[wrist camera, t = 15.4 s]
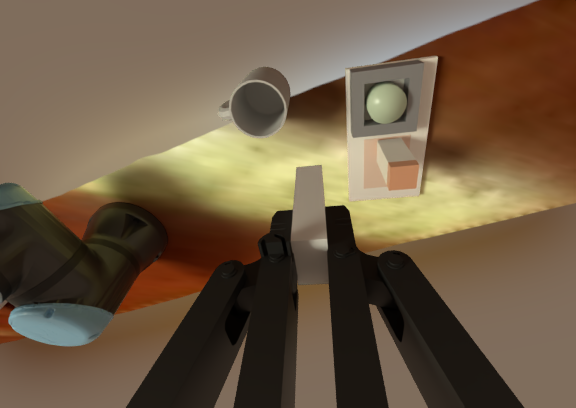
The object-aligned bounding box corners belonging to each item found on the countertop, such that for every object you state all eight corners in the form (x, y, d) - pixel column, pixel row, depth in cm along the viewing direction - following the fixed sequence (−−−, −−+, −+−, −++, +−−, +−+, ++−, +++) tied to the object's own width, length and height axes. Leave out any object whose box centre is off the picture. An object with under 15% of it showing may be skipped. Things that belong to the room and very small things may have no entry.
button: (364, 118, 43) (368, 125, 41) (364, 83, 40) (368, 88, 38) (399, 114, 42) (405, 121, 40) (402, 78, 40) (408, 83, 37)
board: (348, 198, 53) (350, 209, 50) (345, 68, 41) (347, 73, 38) (417, 192, 51) (423, 204, 49) (435, 55, 39) (445, 60, 36)
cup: (295, 110, 45) (293, 131, 37) (235, 125, 47) (221, 147, 39) (283, 59, 41) (277, 72, 33) (217, 78, 43) (198, 94, 35)
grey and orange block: (375, 157, 47) (388, 190, 39) (375, 137, 45) (390, 167, 37) (397, 155, 47) (416, 188, 38) (399, 134, 45) (419, 164, 36)
